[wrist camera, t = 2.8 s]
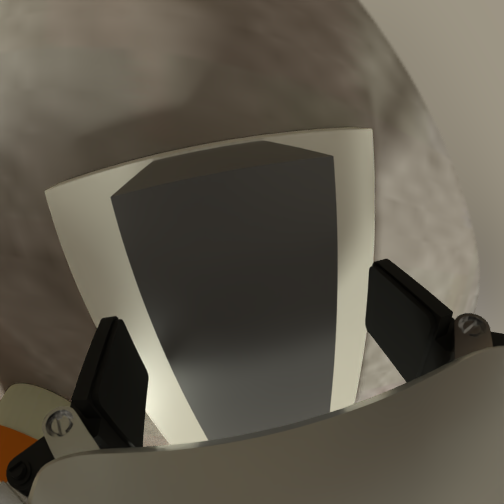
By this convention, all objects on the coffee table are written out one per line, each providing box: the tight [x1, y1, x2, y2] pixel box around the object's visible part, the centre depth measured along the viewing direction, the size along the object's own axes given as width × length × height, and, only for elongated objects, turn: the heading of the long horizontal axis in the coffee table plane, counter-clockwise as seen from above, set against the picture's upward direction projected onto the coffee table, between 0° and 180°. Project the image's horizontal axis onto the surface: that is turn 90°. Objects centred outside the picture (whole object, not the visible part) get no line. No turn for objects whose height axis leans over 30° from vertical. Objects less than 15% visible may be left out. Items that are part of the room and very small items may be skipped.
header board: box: [44, 127, 375, 445], centre depth 15 cm, size 24×14×5 cm, turn 8°
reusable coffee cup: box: [0, 383, 71, 484], centre depth 11 cm, size 13×13×15 cm
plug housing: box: [110, 140, 338, 440], centre depth 10 cm, size 11×4×6 cm, turn 8°
